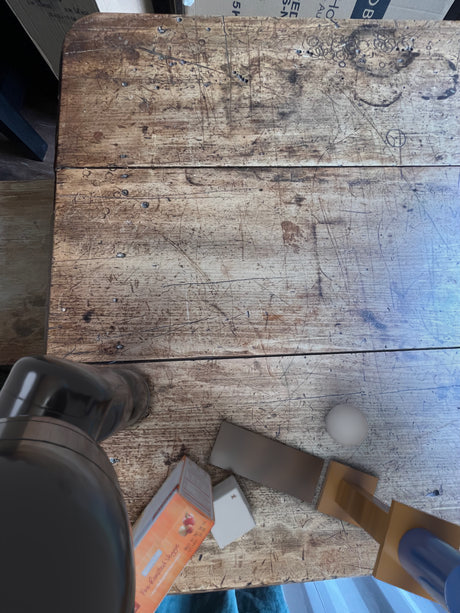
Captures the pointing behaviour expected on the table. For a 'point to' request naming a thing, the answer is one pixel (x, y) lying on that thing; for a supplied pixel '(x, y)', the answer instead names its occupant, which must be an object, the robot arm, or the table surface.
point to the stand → (380, 521)
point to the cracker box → (171, 532)
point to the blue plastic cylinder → (432, 566)
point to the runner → (266, 461)
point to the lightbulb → (347, 425)
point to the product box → (230, 512)
